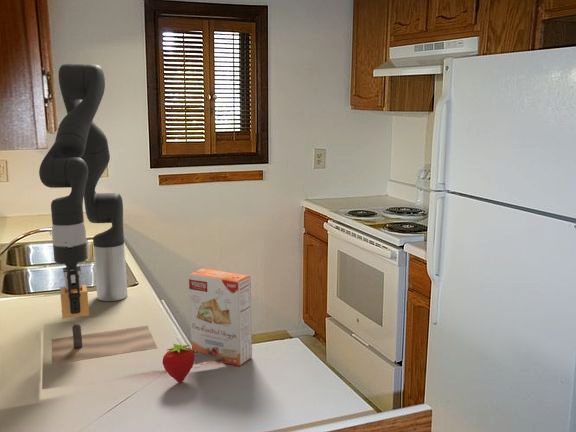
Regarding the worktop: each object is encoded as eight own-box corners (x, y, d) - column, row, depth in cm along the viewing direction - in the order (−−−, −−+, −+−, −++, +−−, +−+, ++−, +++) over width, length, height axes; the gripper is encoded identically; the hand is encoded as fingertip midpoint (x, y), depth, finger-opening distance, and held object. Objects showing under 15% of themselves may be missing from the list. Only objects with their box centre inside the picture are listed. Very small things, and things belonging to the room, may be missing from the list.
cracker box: (190, 356, 144) (187, 273, 140) (205, 347, 149) (202, 267, 145) (239, 367, 137) (237, 281, 134) (253, 358, 143) (251, 274, 139)
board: (52, 344, 152) (49, 316, 150) (147, 330, 160) (146, 304, 159) (52, 370, 137) (50, 339, 135) (157, 353, 146) (156, 324, 144)
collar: (62, 310, 146) (60, 287, 145) (87, 307, 148) (85, 284, 147) (62, 318, 141) (60, 294, 139) (89, 315, 143) (87, 291, 142)
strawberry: (157, 383, 130) (155, 340, 128) (185, 372, 135) (183, 330, 134) (173, 392, 126) (171, 348, 124) (201, 380, 131) (200, 337, 130)
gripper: (52, 236, 146) (58, 302, 149) (53, 249, 133) (59, 320, 136) (84, 234, 149) (89, 298, 152) (88, 246, 136) (93, 316, 139)
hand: (75, 308), depth 144 cm, fingers closed on collar, 6 cm apart
